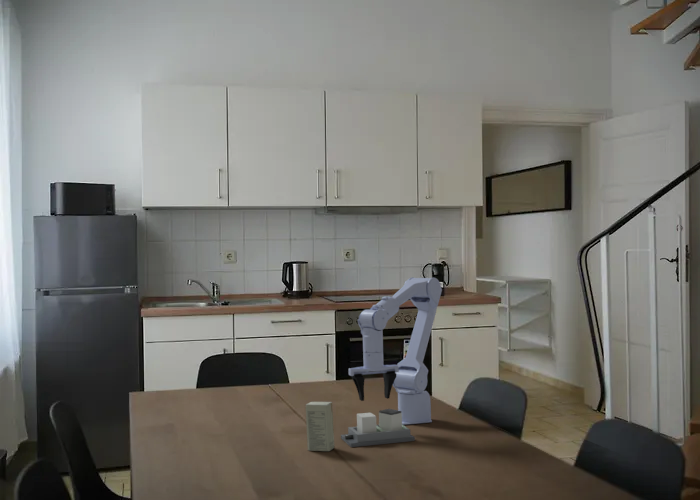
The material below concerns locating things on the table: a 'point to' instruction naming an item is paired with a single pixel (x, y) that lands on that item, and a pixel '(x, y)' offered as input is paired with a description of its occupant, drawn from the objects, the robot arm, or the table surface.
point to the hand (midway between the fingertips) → (374, 399)
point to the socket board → (374, 433)
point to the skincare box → (320, 426)
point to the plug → (390, 420)
